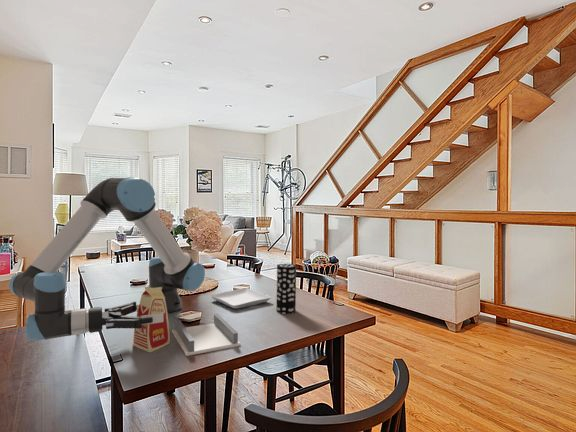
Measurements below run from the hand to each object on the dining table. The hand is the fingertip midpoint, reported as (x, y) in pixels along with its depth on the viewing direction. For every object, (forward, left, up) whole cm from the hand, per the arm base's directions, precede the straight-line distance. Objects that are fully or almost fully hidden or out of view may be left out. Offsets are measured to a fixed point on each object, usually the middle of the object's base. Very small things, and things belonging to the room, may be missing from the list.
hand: (159, 311), depth 124 cm
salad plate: (-33, +42, -12) cm, 54 cm away
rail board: (+3, +15, -11) cm, 18 cm away
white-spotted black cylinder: (-12, +55, -11) cm, 57 cm away
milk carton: (0, -2, -11) cm, 11 cm away
